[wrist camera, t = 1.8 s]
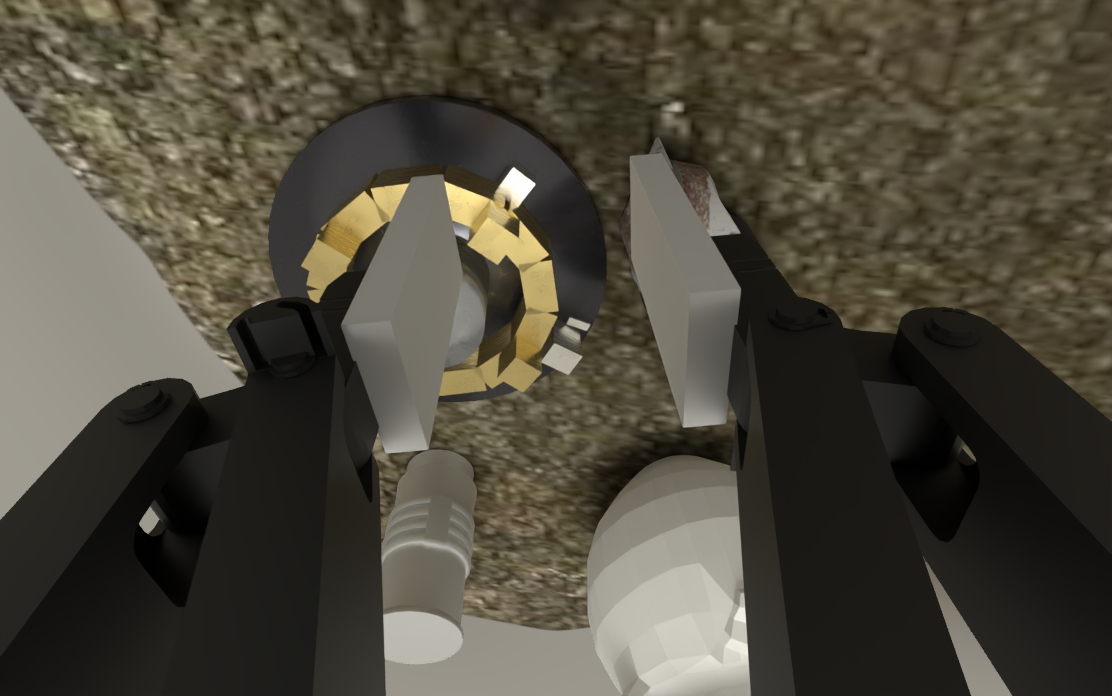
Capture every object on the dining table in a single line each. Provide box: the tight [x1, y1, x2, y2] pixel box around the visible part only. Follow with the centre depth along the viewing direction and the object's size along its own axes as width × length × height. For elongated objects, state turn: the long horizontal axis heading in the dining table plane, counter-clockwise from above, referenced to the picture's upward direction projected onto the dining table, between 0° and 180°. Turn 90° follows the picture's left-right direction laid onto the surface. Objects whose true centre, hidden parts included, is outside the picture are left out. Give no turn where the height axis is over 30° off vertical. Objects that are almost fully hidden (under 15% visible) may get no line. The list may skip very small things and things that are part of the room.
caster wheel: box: [619, 136, 758, 310], centre depth 38 cm, size 7×11×10 cm
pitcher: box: [587, 455, 751, 696], centre depth 45 cm, size 19×18×25 cm
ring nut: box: [301, 159, 559, 396], centre depth 37 cm, size 15×15×6 cm
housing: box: [268, 95, 606, 402], centre depth 38 cm, size 22×22×8 cm
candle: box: [381, 449, 477, 664], centre depth 46 cm, size 7×7×15 cm
